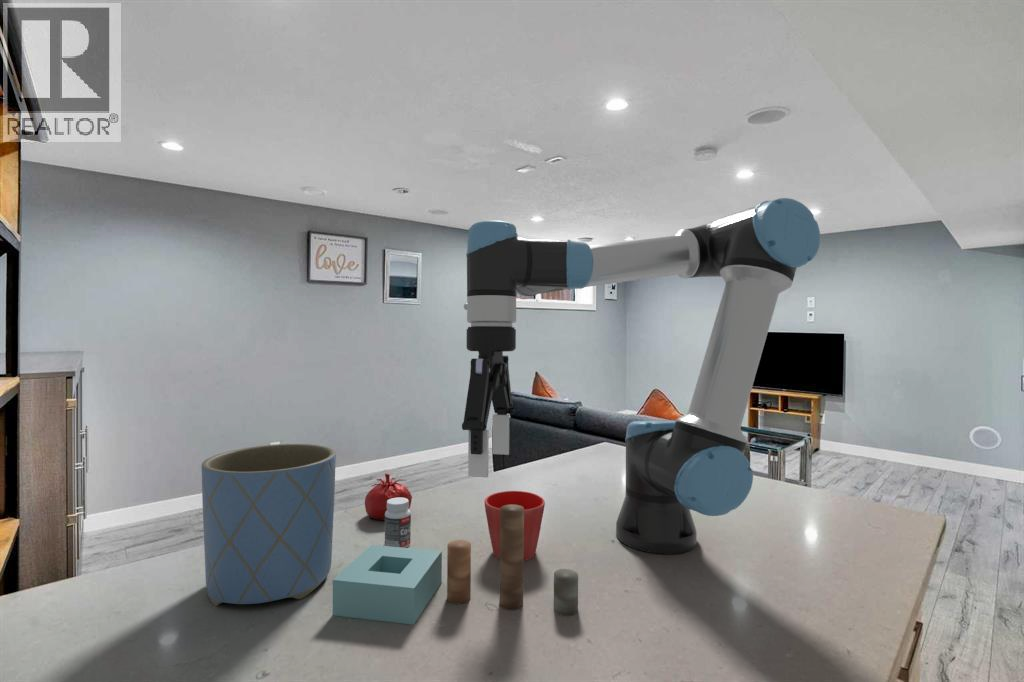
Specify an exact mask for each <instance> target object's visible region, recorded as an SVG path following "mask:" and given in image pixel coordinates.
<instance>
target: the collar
mask: <svg viewBox="0 0 1024 682" xmlns="http://www.w3.org/2000/svg"><path fill="white" fill-rule="evenodd" d="M442 564H443V551H442V550H436V549H435V550H433V549H424V548H423V549H421V548H412V547H406V548H402V547H390V546H385V545H378V544H377V545H376V544H371V545H370V546H369V547H367V548H366V549H365V550H364V551H363V552H361V553H360V555H358V556H357V558H355V559H354V560H353V561H351V562H350V563H349V565H347V566H346V567H345V568H344V569H343V570H342V571H341V572H340V573H338V574H337V575H336V576H335V577H334V578H333V579H332V616H334V617H344V618H354V619H360V620H369V621H379V622H386V623H396V624H403V625H404V624H405V625H413V626H415V624H416V622H417V621H418V619H419V618H420V616H421V615H422V613H423V612H424V610H425V608H426V607H427V605H428V604H429V603H430V601H431V600H432V598H433V596H434V595H435V593H436V592H437V590H438V588H439V587H440V586H441V583H442V582H443V581H442V578H443V573H442V571H443V570H442V569H443V565H442Z"/></svg>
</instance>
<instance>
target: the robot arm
mask: <svg viewBox="0 0 1024 682" xmlns="http://www.w3.org/2000/svg"><path fill="white" fill-rule="evenodd" d="M518 236H519V235H518V232H517V227H516V226H515V225H514V223H512V222H509V221H502V220H483V221H482V220H481V221H477V222H475V223H473V224H472V225H471V226H470V227H469V228H468V232H467V247H466V248H467V250H466V253H465V255H466V303H464V305H463V308H464V310H465V311H466V322H467V323H469V324H470V326H467V328H466V350H467V351H469V352H478V357H477V358H471V360H470V371H469V372H470V375H469V381H468V388H467V389H468V390H467V395H466V403H465V408H464V409H465V410H464V415H463V422H462V423H461V429H462V431H468V439H467V440H468V442H467V443H468V447H467V448H468V450H467V451H468V458H467V459H468V460H467V461H468V462H467V463H468V466H467V467H468V468H467V469H468V470H467V472H468V474H467V475H468V477H474V478H475V477H476V478H488V477H489V452H490V451H489V450H490V449H489V447H490V446H489V445H490V444H489V440H490V439H489V438H490V436H489V435H490V432H489V430H490V429H487V428H488V427H487V426H488V421H489V415H490V411H491V405H492V407H493V412H494V413H493V414H492V422H491V423H492V428H491V429H492V433H491V434H492V435H491V436H492V437H491V438H492V439H491V440H492V441H491V443H492V445H491V446H492V448H491V449H492V453H491V454H492V455H507V456H509V455H510V415H514V413H515V407H513V400H512V399H513V397H512V390H511V381H510V369H509V359H510V358H509V355H506V354H505V355H504V352H514V351H515V350H516V349H517V329H516V328H515V327H514V326H513V324H516V322H517V295H520V296H524V297H532V296H533V297H534V296H537V295H540V294H546V293H553V292H555V293H556V292H559V291H561V292H562V291H566V290H569V291H570V290H574V289H579V290H580V289H581V290H582V289H584V288H589V287H594V286H595V287H596V286H603V285H611V284H618V283H625V282H632V281H640V280H647V279H654V278H661V277H662V278H663V277H669V276H676V275H677V276H678V277H680V278H681V279H691V278H692V279H693V278H700V277H701V278H702V277H703V278H704V277H706V278H707V277H708V278H709V277H710V278H711V277H719V278H720V277H721V278H722V279H723V280H724V282H725V284H724V289H723V292H722V296H721V300H720V303H719V306H718V309H717V313H716V317H715V319H714V323H713V326H712V330H711V333H710V336H709V340H708V344H707V347H706V349H705V354H704V356H703V360H702V363H701V367H700V369H699V374H698V377H697V381H696V383H695V387H694V391H693V394H692V399H691V401H690V405H689V408H688V411H687V412H686V413H685V414H683V415H682V416H680V417H677V418H676V419H675V420H674V419H673V420H671V419H670V420H669V419H668V420H664V419H663V420H660V419H659V420H657V419H655V420H634V421H631V422H630V423H628V424H627V426H626V433H625V439H624V441H625V496H624V499H623V502H622V505H621V508H620V511H619V514H618V516H617V520H616V522H615V524H616V525H615V526H616V527H615V534H616V538H617V539H618V541H620V542H621V543H623V544H625V545H626V546H628V547H631V548H633V549H636V550H639V551H643V552H646V553H647V552H648V553H654V554H661V555H663V554H665V555H670V554H671V555H672V554H673V555H674V554H681V553H682V554H683V553H686V552H689V551H691V550H693V549H694V548H696V546H697V535H698V533H697V528H696V525H695V522H694V518H693V515H692V513H691V511H694V512H696V513H699V514H701V515H704V516H708V517H719V516H723V515H724V516H725V515H727V514H729V513H730V512H732V511H733V510H736V509H737V508H739V507H740V506H741V505H742V504H743V503H744V501H746V499H747V498H748V496H749V494H750V492H751V490H752V486H753V480H754V472H753V468H751V463H750V461H749V459H748V458H747V456H746V455H745V451H746V447H747V443H748V440H747V438H746V437H745V435H744V433H743V431H742V429H741V427H742V424H743V421H744V416H745V413H746V410H747V408H748V407H747V406H748V403H749V399H750V395H751V393H752V388H753V386H754V382H755V378H756V374H757V371H758V368H759V365H760V361H761V358H762V353H763V350H764V346H765V343H766V340H767V336H768V333H769V330H770V326H771V322H772V320H773V316H774V313H775V310H776V309H775V308H776V305H777V301H778V298H779V294H781V293H782V292H784V291H787V290H788V289H790V288H791V287H792V286H793V282H794V278H795V276H796V271H797V268H801V267H802V266H805V265H806V264H808V262H811V261H812V260H813V259H814V258H815V257H816V255H817V253H818V251H819V248H820V245H821V231H820V227H819V224H818V221H817V220H816V219H815V217H814V214H813V212H812V211H811V210H810V209H809V208H808V207H807V206H806V205H805V204H803V203H802V202H800V201H798V200H796V199H793V198H787V197H783V198H782V197H781V198H777V199H774V200H765V201H762V202H761V203H758V204H757V205H755V206H753V207H750V208H747V209H744V210H741V211H737V212H734V213H732V214H728V215H725V216H723V217H721V218H718V219H716V220H713V221H710V222H707V223H705V224H702V225H699V226H695V227H691V228H682V229H680V230H677V231H676V232H675V234H674V235H671V236H668V235H667V236H661V237H654V238H644V239H636V240H629V241H628V240H627V241H619V242H611V243H604V244H595V245H589V244H587V243H586V242H583V241H575V240H571V239H567V240H560V239H539V238H536V239H534V238H523V237H518Z"/></svg>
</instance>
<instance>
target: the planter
mask: <svg viewBox="0 0 1024 682" xmlns="http://www.w3.org/2000/svg"><path fill="white" fill-rule="evenodd" d="M336 453H337V452H336V450H334V449H333V448H331V447H328V446H324V445H319V444H312V443H311V444H309V443H280V444H279V443H278V444H266V445H257V446H251V447H244V448H243V447H242V448H238V449H233V450H229V451H225V452H221V453H218V454H214V455H213V456H210V457H208V458H206V459H205V460H203V461H202V462H201V463H202V464H201V467H200V468H201V495H202V500H201V501H202V520H203V522H202V523H203V542H204V543H203V545H204V546H203V548H204V569H205V571H204V573H205V587H206V592H207V596H208V599H209V600H210V602H211V604H212V605H214V606H215V607H218V606H220V605H221V604H222V603H225V604H234V605H255V604H263V603H270V602H273V601H279V600H284V599H289V598H294V599H295V600H297V601H299V600H302V599H304V598H306V597H307V596H308V595H310V594H311V593H312V592H313V591H314V590H315V589H316V588H317V587H318V586H320V585H321V584H322V582H323V581H324V580H325V579H326V578H327V576H328V575H329V573H330V571H331V567H332V561H333V560H332V557H333V553H332V552H333V538H334V537H333V532H334V510H335V491H336V490H335V488H336V487H335V486H336V464H337V463H336V458H337V454H336Z"/></svg>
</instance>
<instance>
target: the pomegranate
mask: <svg viewBox="0 0 1024 682" xmlns="http://www.w3.org/2000/svg"><path fill="white" fill-rule="evenodd" d="M390 475H391V474H390V473H389V472H386V473H384V478H385V480H384V479H382V478H376V480H377V481H381V482H379V483H374V484H373V485H371V487H373V488H371V489H370V490H369V491H368V493H366V496H365V498H364V509H365V512H366V514H367V516H368V517H369V518H372V519H375V520H377V521H378V520H380V521H385V512H386V511H387V501H388V500H389V499H392V498H397V497H402V498H407V499H408V500H409V508H408V509H409V510H410V508H411V504H412V500H413V495H412V493H411V491H409V489H408V488H407V486H406V485H404V484H401V483H400V482H399V481H400V479H397V480H396V478H395V477H392V478H391V479H390ZM393 480H395V481H393ZM402 481H403V482H404V481H407V479H406V480H405V479H402Z"/></svg>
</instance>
